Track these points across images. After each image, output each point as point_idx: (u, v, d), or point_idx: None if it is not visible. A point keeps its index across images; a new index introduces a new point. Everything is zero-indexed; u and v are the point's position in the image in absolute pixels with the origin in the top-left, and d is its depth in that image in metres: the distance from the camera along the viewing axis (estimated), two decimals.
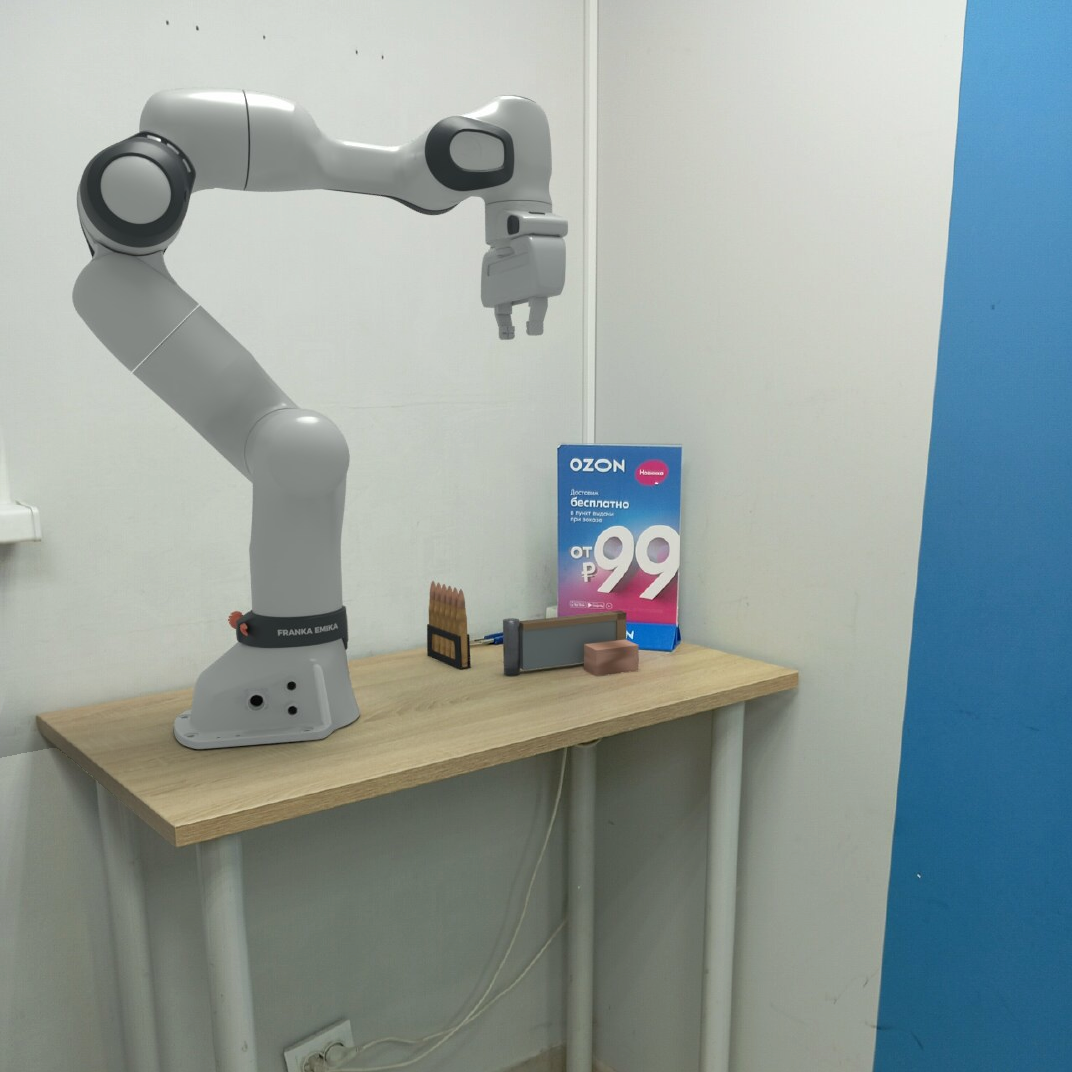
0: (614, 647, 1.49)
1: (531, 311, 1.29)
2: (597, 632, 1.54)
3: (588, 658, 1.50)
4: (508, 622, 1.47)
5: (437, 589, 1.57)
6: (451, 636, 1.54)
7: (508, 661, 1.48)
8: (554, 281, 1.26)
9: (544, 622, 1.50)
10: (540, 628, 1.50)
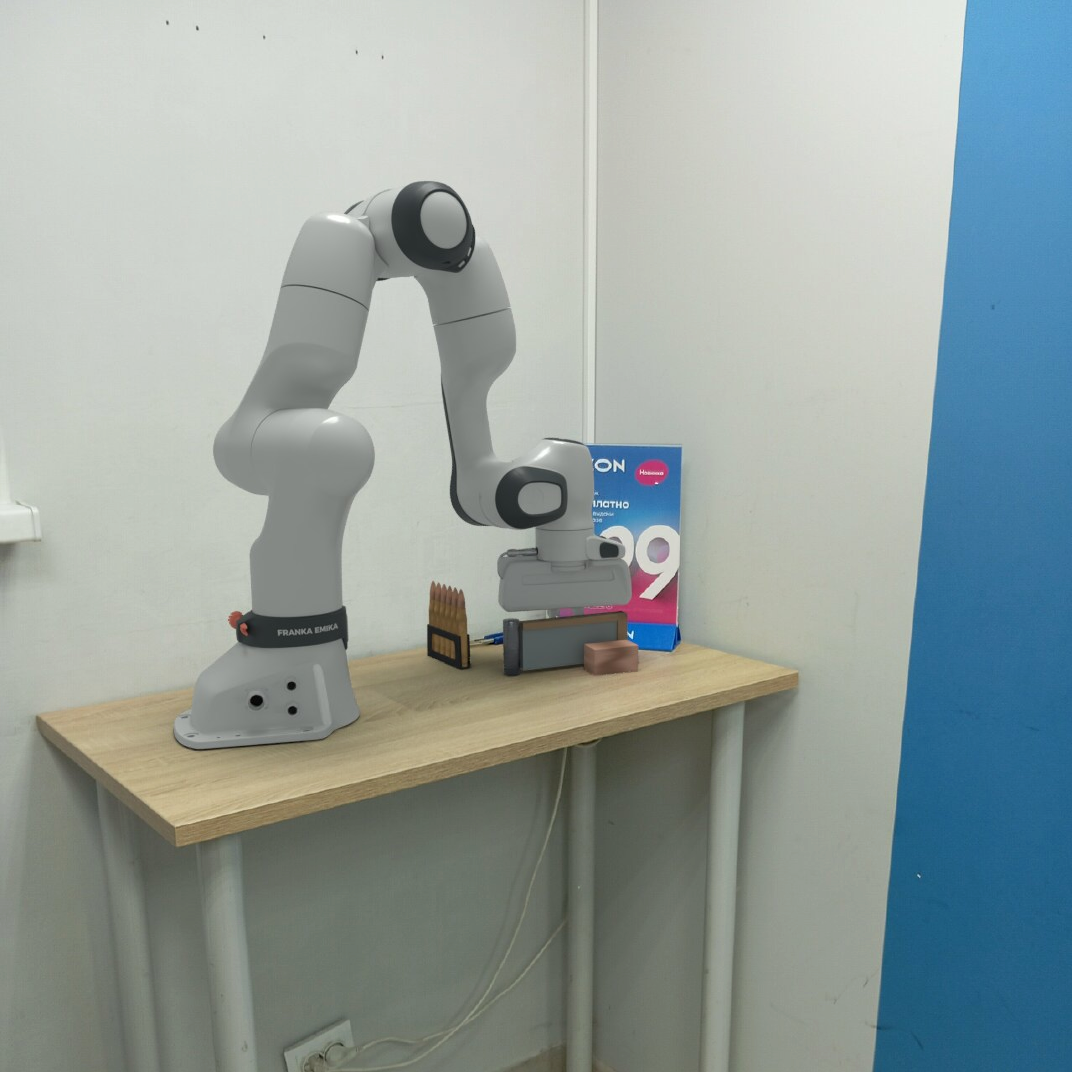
0: (613, 647, 1.49)
1: None
2: (598, 632, 1.53)
3: (587, 657, 1.50)
4: (508, 622, 1.47)
5: (437, 589, 1.57)
6: (451, 636, 1.54)
7: (508, 661, 1.48)
8: None
9: (544, 622, 1.50)
10: (540, 628, 1.49)
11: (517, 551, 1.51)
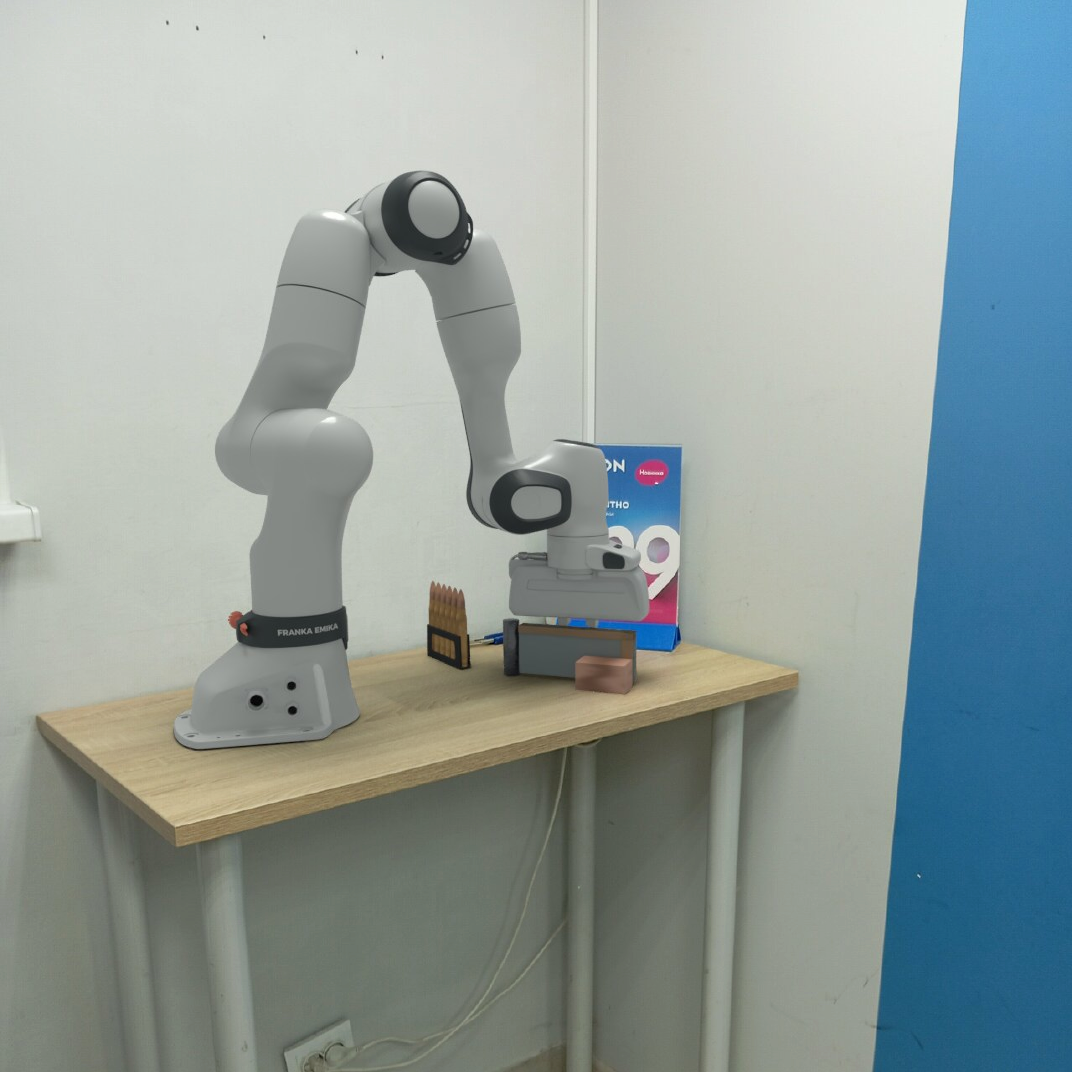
0: (598, 663, 1.40)
1: None
2: (599, 649, 1.43)
3: None
4: (508, 622, 1.47)
5: (437, 589, 1.57)
6: (451, 636, 1.54)
7: (508, 661, 1.48)
8: (647, 608, 1.44)
9: (540, 628, 1.46)
10: (536, 633, 1.46)
11: (527, 554, 1.48)
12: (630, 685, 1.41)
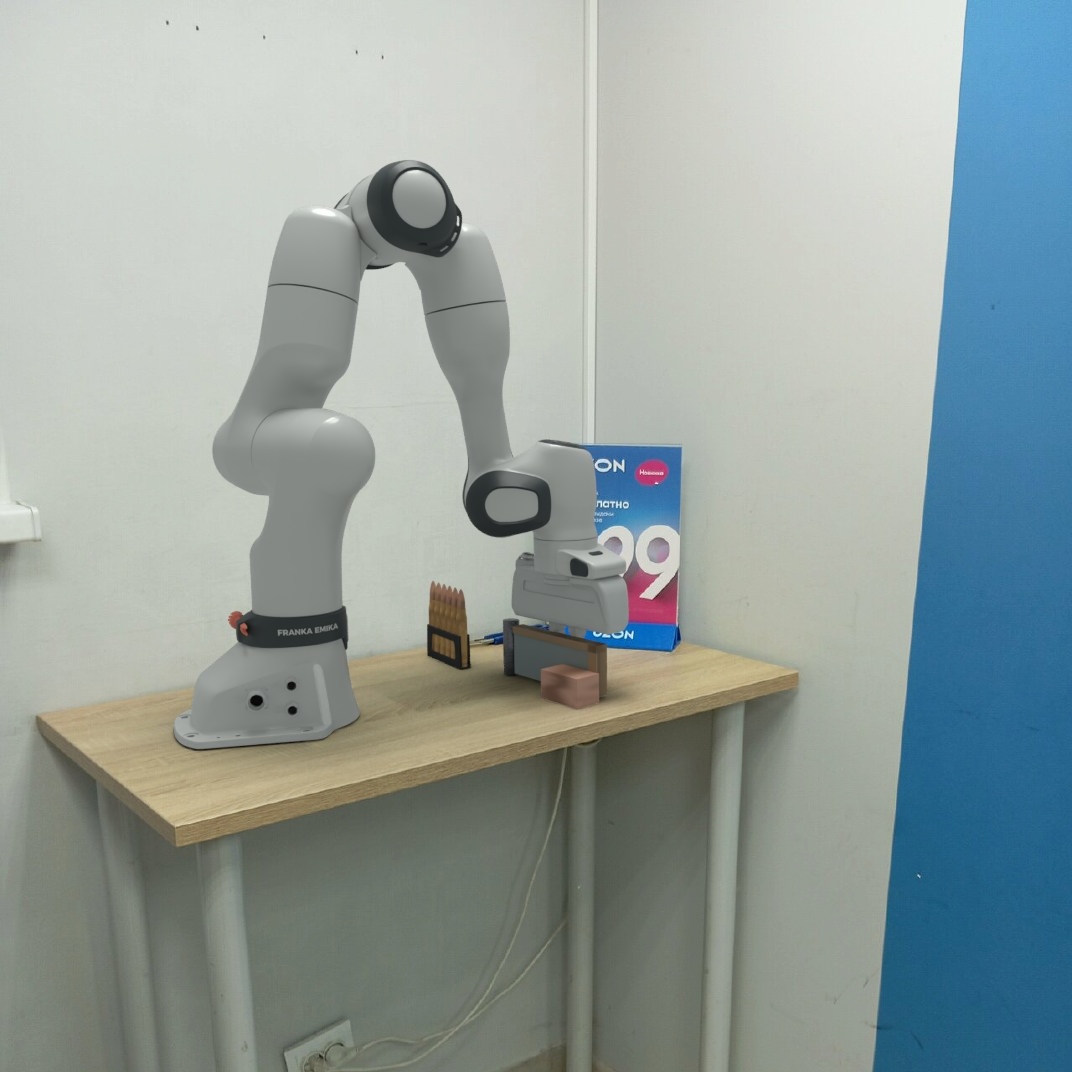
0: (559, 673, 1.35)
1: None
2: (572, 658, 1.38)
3: None
4: (508, 622, 1.47)
5: (437, 589, 1.57)
6: (451, 636, 1.54)
7: (508, 661, 1.48)
8: (621, 621, 1.35)
9: (528, 630, 1.44)
10: (525, 635, 1.45)
11: (528, 555, 1.46)
12: (593, 700, 1.34)
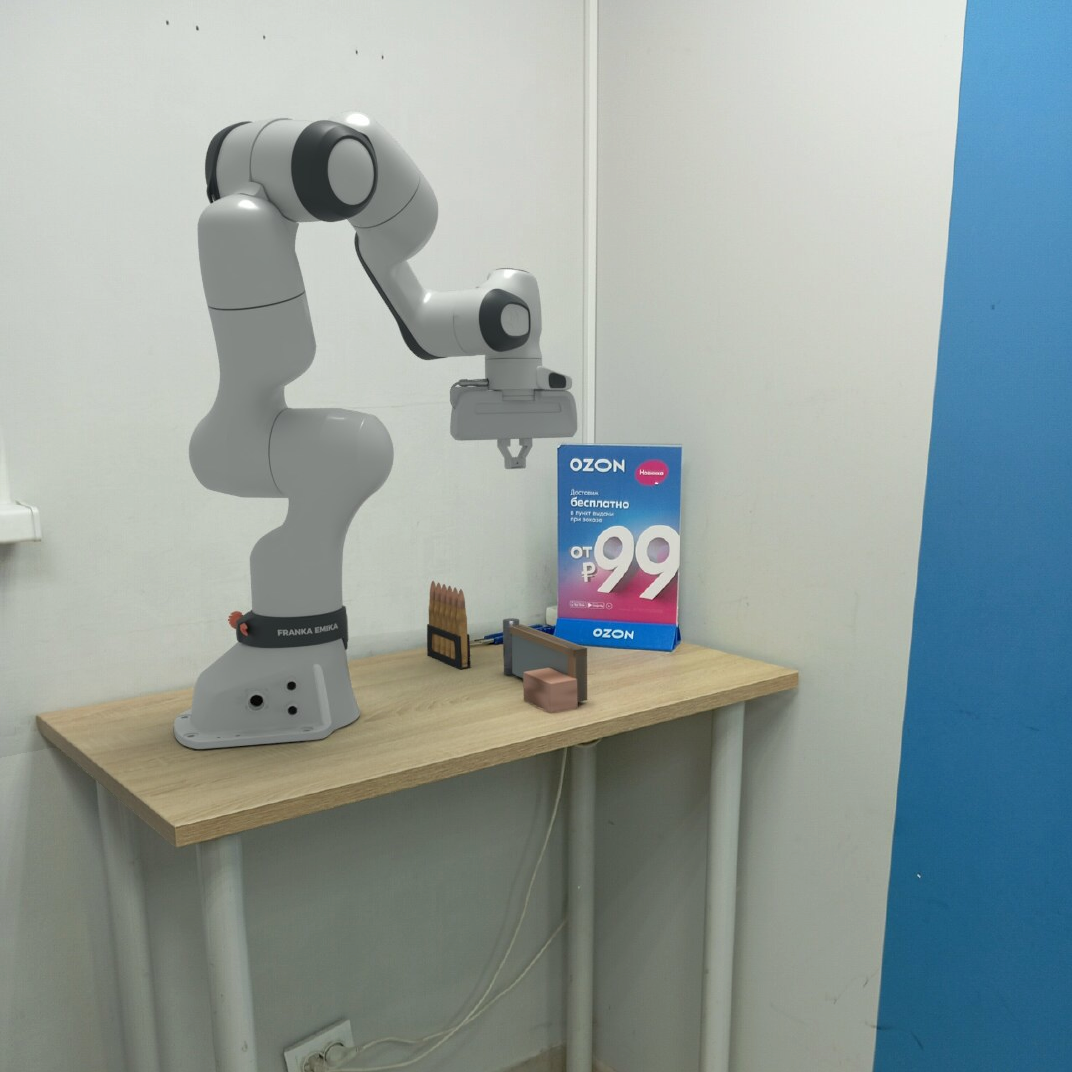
0: (538, 677, 1.34)
1: (528, 449, 1.59)
2: (556, 661, 1.37)
3: None
4: (508, 622, 1.47)
5: (437, 589, 1.57)
6: (451, 636, 1.54)
7: (508, 661, 1.48)
8: None
9: (521, 631, 1.44)
10: (520, 636, 1.45)
11: (469, 381, 1.54)
12: (570, 706, 1.32)
